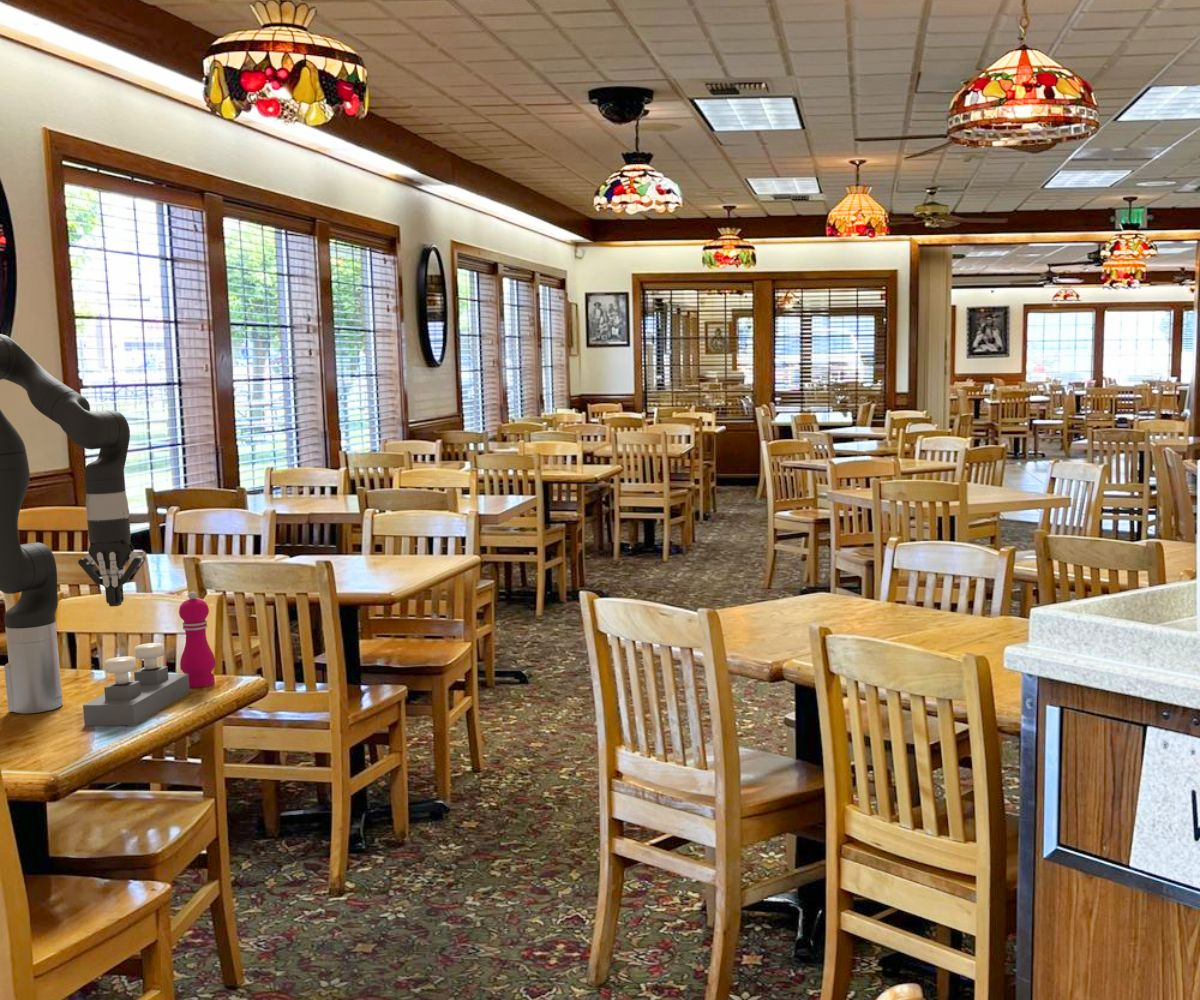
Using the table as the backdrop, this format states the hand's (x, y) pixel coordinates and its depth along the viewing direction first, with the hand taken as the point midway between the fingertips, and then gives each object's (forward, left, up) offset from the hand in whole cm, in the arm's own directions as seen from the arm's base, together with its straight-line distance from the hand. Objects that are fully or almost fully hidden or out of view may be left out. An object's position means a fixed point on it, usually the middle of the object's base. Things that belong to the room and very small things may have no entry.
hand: (115, 605), depth 246 cm
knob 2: (0, +12, -15) cm, 19 cm away
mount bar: (0, +6, -22) cm, 23 cm away
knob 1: (0, 0, -15) cm, 15 cm away
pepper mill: (+4, +25, -22) cm, 34 cm away
